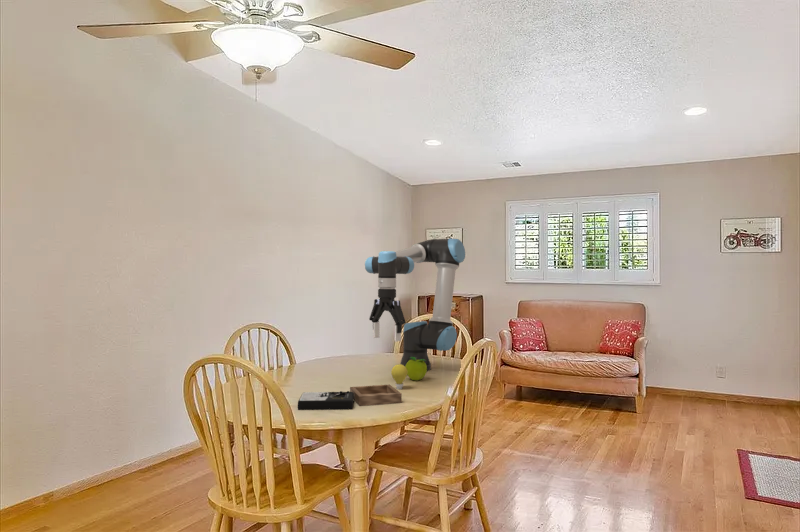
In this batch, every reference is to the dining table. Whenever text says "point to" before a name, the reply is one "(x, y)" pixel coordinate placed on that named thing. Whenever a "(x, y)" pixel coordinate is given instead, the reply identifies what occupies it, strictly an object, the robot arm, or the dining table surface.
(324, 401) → the multimeter
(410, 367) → the fruit
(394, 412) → the dining table surface
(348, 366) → the dining table surface
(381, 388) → the tray
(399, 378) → the light bulb
